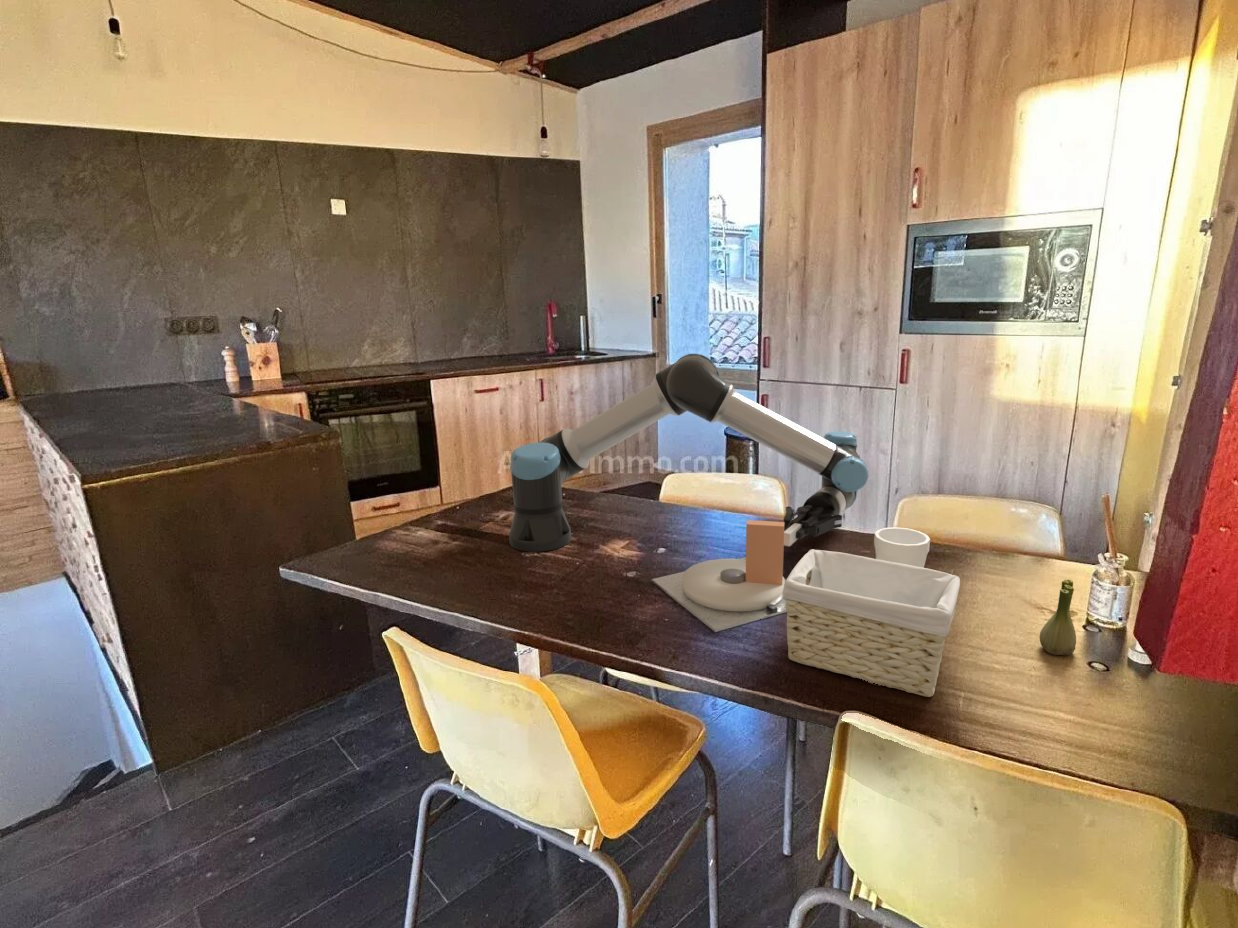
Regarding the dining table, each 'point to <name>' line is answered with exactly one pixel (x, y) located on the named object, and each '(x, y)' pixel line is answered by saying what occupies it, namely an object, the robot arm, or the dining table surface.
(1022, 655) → the dining table surface
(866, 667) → the storage basket
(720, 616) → the base plate
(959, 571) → the dining table surface
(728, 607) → the dial
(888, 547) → the foam cup
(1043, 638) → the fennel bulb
